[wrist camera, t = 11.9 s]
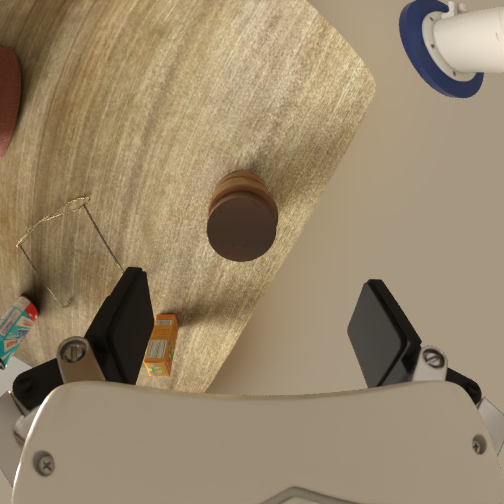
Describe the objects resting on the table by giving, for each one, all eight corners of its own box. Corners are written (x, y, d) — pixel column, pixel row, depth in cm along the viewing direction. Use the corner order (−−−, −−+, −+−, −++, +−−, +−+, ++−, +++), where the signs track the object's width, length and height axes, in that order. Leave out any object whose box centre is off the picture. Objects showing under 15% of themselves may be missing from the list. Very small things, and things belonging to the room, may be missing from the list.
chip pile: (213, 168, 30) (206, 182, 23) (273, 172, 30) (282, 187, 24) (211, 224, 33) (204, 251, 27) (266, 227, 33) (273, 255, 27)
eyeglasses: (91, 186, 30) (71, 198, 25) (140, 280, 36) (129, 301, 32) (26, 229, 31) (8, 242, 27) (70, 303, 38) (58, 321, 34)
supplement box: (181, 328, 41) (170, 378, 32) (160, 328, 41) (147, 376, 32) (177, 312, 39) (164, 363, 30) (156, 312, 39) (139, 361, 30)
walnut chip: (210, 188, 24) (207, 195, 22) (276, 192, 24) (280, 200, 22) (208, 248, 26) (205, 260, 24) (269, 251, 27) (271, 263, 25)
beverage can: (31, 319, 40) (-2, 370, 27) (15, 297, 38) (-22, 346, 24) (44, 314, 39) (8, 369, 26) (27, 290, 37) (-14, 342, 23)
